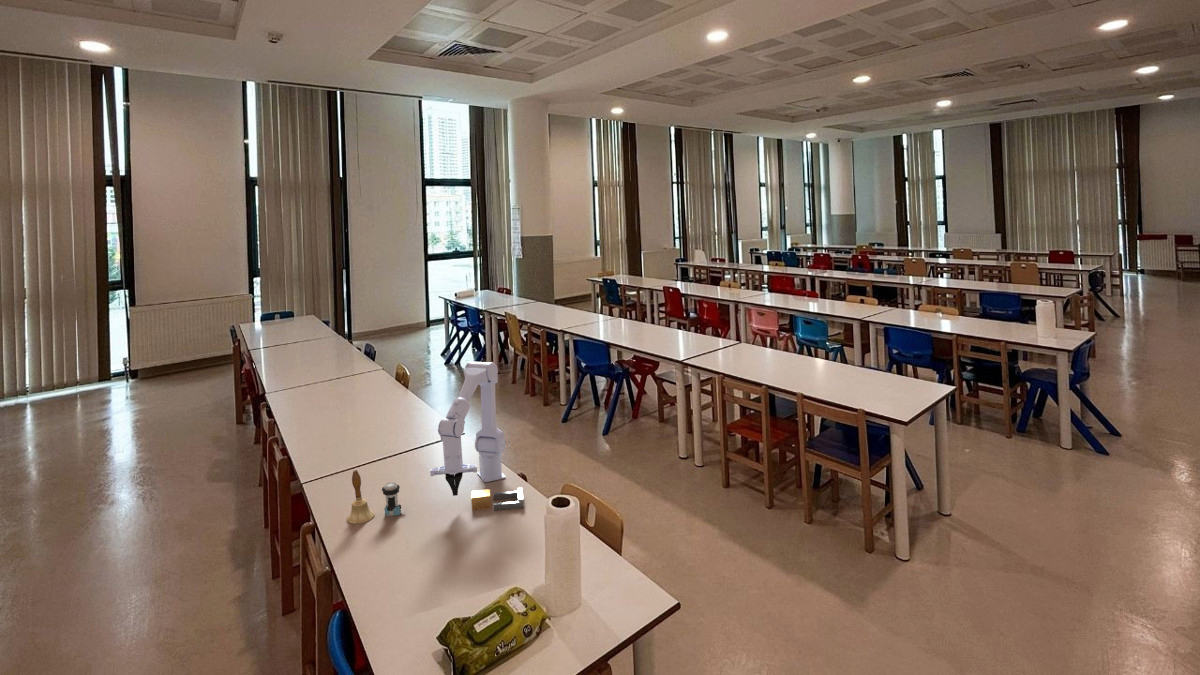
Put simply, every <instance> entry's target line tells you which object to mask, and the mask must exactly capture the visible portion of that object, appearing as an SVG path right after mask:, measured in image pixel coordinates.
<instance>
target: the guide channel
mask: <svg viewBox="0 0 1200 675" xmlns="http://www.w3.org/2000/svg"><path fill="white" fill-rule="evenodd" d="M516 489H517V490H513V491H512V490H511V491H502V492H493V500H494V501H498V500H509V499H510V500H511V499H517V500H515V501H505V502H503V501H502V502H495V503H493V511H505V510H514V509H515V510H517V509H524V493H523V487H517V488H516Z"/></svg>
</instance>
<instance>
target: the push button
mask: <svg viewBox="0 0 1200 675" xmlns="http://www.w3.org/2000/svg"><path fill="white" fill-rule="evenodd" d="M381 491H382V494H383V495H384V496H385V506H384V515H385V516H390V517H393V516H399V515H401V514H406V508H402V505H401V504H400V503H399V501H398V500H399V498H398V493H399V492H400V484H399V485H398V484H397V483H396V482H388V483H386V484H384V486H383V487H381Z"/></svg>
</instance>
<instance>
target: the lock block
mask: <svg viewBox="0 0 1200 675" xmlns="http://www.w3.org/2000/svg"><path fill="white" fill-rule="evenodd" d="M470 497H471V498H470V499H471V500H470V501H471V511H482V510H489V509H491V508H492V507H491V506H492V503H491V502H492V501H491V489H490V488H489V489H479V490H472V491H471V494H470Z"/></svg>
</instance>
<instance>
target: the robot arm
mask: <svg viewBox="0 0 1200 675" xmlns="http://www.w3.org/2000/svg"><path fill="white" fill-rule="evenodd" d="M498 371H499V369H498V365H496V363H495V362H493V361H491V362H485V361H483V362H482V361H472V360H470V361H468V362H467V363H466V364H465V366H464V370H463V373H464V382H463V384H462V386H461V390H460V392H459V396H458V397H457V398H455V399H453V401H452V403H451V405H450V408H449V409H448V411H447V414H446V416H445V417H444V418H443V419H440V421H439V423H438V426H437V427H438V428H437V432H438V435H439V438H440V441H441V442H442V452H443V465H442V466H438V467H432V468H430V470H429V472H430V477H435V476H439V475H445V477H444V478H445V480H446V482H447V484H448V486H449V488H450V490H451V492H452V496H454V497H455V496H458V495H459V487H460V484H461V482H462V479H463V474H464V473H474V474H475V473H476V474H478V476H479V477H480V479H481V480H482V481H483V482H484V483H489V482H492V481H497V480H503V479H506V478H507V477H506V475H505V474H504V473H503V470H502V469H503V468H502V454H503V453H504V451H505V449H506V439H505V434H504V432H503V431H502V430H501V429H500V428H498V426H497V410H496V408H497V406H496V405H497V404H496V384H497V383H498V382H499V381H498V379H499V376H498V375H499V374H498V373H499V372H498ZM478 386H480V406H481V407H480V408H481V409H480V410H481V411H480V412H481V428H480V429H478V431H477V432H476V433H475V440H474V449H475V450H476V452H478V455H479V456H478V464H479V471H478V465H477V464H467V463H463V462H464V461H463V449H462V435H463V433H464V432H465V424H466V420H465V419H466V418H467V417H466V416H467V415H468V413H469V410H470V408H471V405H470V404H471V403H470V401H471V399H472V396H474V393H475V391H476V389H477V388H478Z"/></svg>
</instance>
